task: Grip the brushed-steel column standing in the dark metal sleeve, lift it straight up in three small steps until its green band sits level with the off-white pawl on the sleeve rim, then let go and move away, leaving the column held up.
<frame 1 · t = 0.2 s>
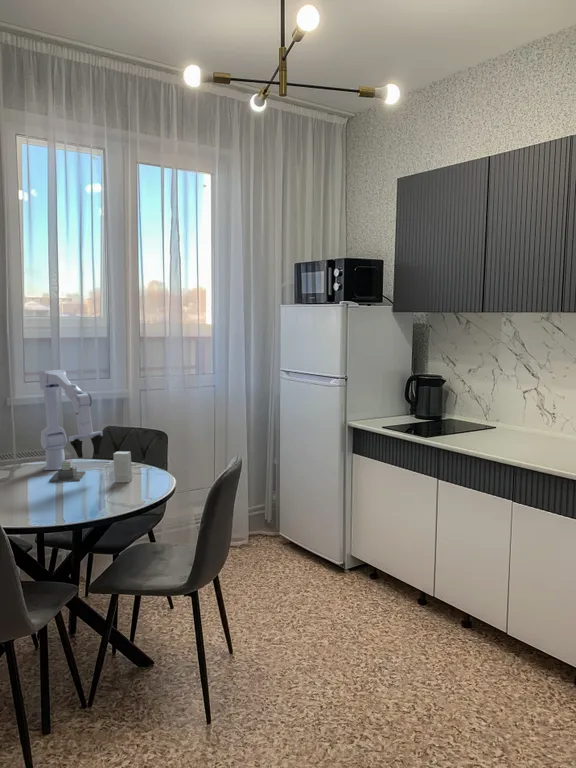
hand: (88, 456, 251), 10 cm above the table, tool pointing down, fingers open, 7 cm apart
skincare box: (123, 481, 252), on the table
stand base: (67, 477, 258), on the table
column: (67, 469, 257), point 3 cm above the table, slide at 0.0 cm
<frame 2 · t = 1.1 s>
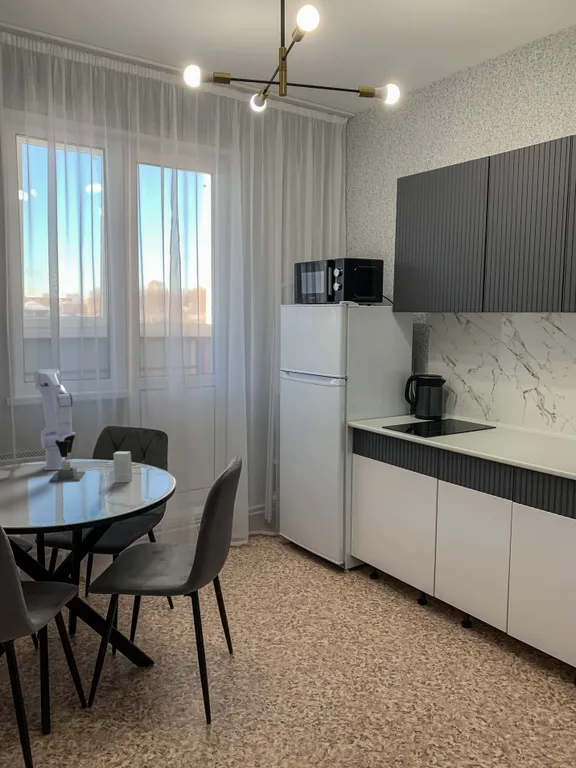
hand: (66, 454, 256), 10 cm above the table, tool pointing down, fingers open, 7 cm apart
nothing on the table moved.
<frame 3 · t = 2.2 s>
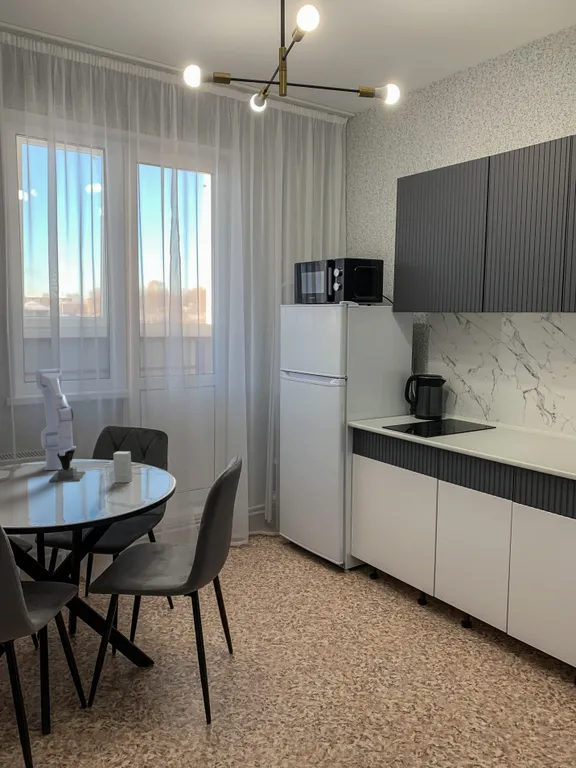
hand: (67, 468, 257), 4 cm above the table, tool pointing down, fingers closed on column, 3 cm apart
column: (67, 469, 257), point 3 cm above the table, slide at 0.0 cm, touching gripper
everything else where it was.
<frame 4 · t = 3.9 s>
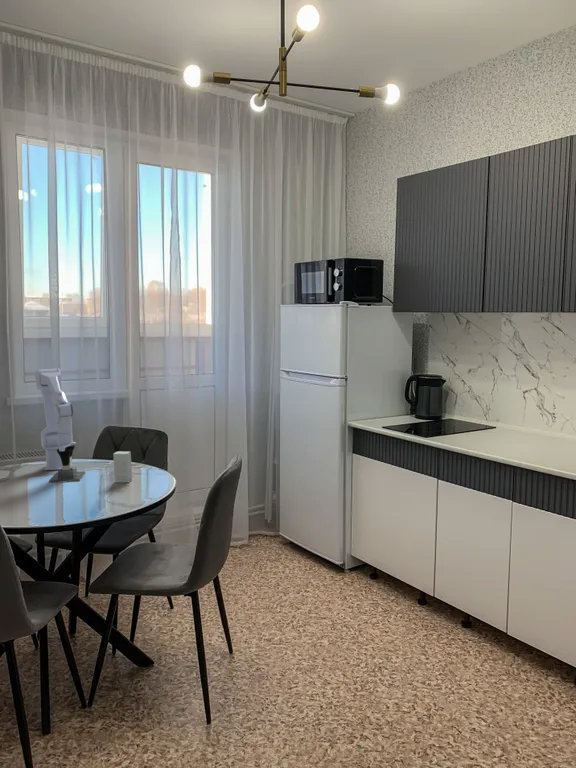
hand: (66, 464, 257), 6 cm above the table, tool pointing down, fingers closed on column, 3 cm apart
column: (66, 465, 257), point 5 cm above the table, slide at 1.7 cm, touching gripper
everything else where it was.
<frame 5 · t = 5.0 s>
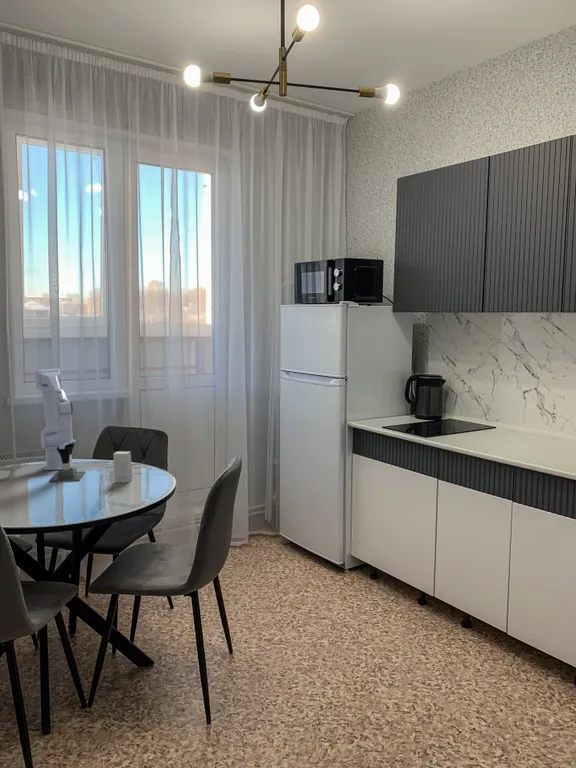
hand: (66, 462, 257), 7 cm above the table, tool pointing down, fingers closed on column, 3 cm apart
column: (66, 463, 257), point 6 cm above the table, slide at 2.6 cm, touching gripper
everything else where it was.
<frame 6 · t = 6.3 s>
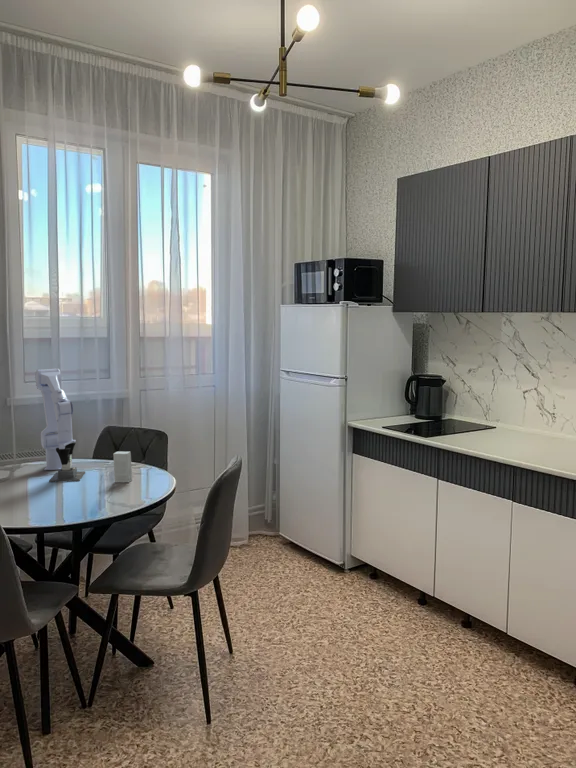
hand: (66, 462, 257), 7 cm above the table, tool pointing down, fingers open, 7 cm apart
column: (66, 463, 257), point 6 cm above the table, slide at 2.6 cm
everything else where it was.
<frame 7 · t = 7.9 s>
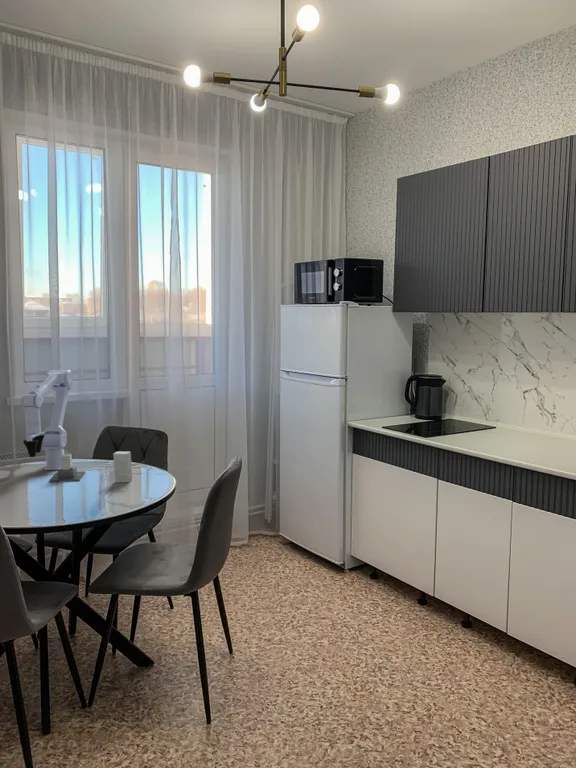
hand: (35, 454, 257), 10 cm above the table, tool pointing down, fingers open, 7 cm apart
nothing on the table moved.
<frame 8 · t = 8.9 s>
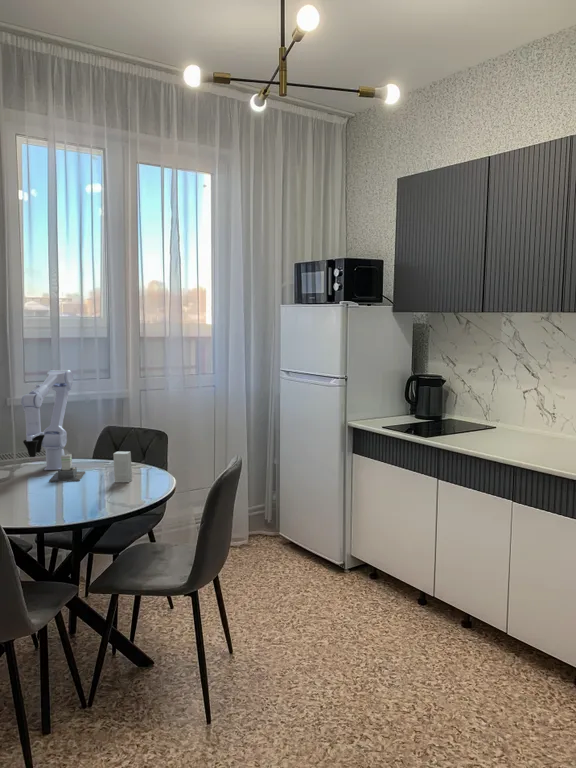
hand: (35, 454, 257), 10 cm above the table, tool pointing down, fingers open, 7 cm apart
nothing on the table moved.
at the end: column slide at 2.6 cm; the gripper is holding nothing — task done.
